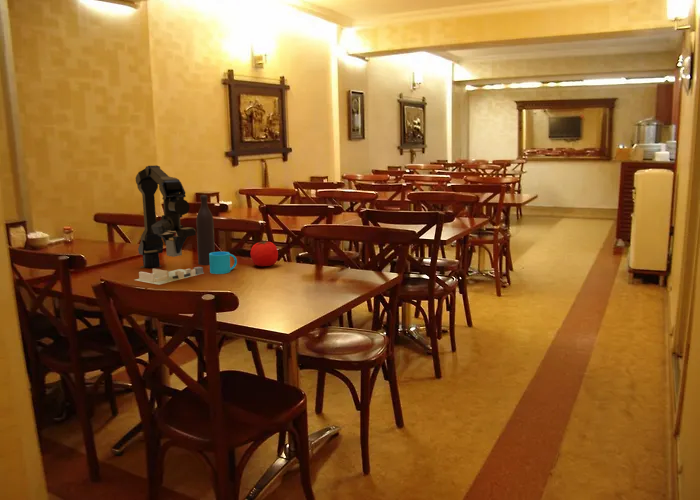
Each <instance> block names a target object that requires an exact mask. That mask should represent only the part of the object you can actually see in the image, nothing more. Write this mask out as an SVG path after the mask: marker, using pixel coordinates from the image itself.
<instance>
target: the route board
mask: <svg viewBox="0 0 700 500" xmlns="http://www.w3.org/2000/svg"><path fill="white" fill-rule="evenodd" d="M175 271H181V272H184V274H186V271H185V269H182V268H178V269H174V270H168V273H169V279H166V280H162V281H158V282H149V281H144V280H139V278H136V279H134V281H137V282H143V283H148V284H154V285H158V286H160V285H165V284H167V283H170V282H175V281H179V280H182V279H187V278H191V277H193V276H188V277H184V278H181V279H178V278H176V279H173V276H175ZM202 274H204V272H203V273H202ZM202 274H201V275H202ZM199 275H200V274H198V275H197V274H196V276H199ZM155 278H158V277H155Z"/></svg>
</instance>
